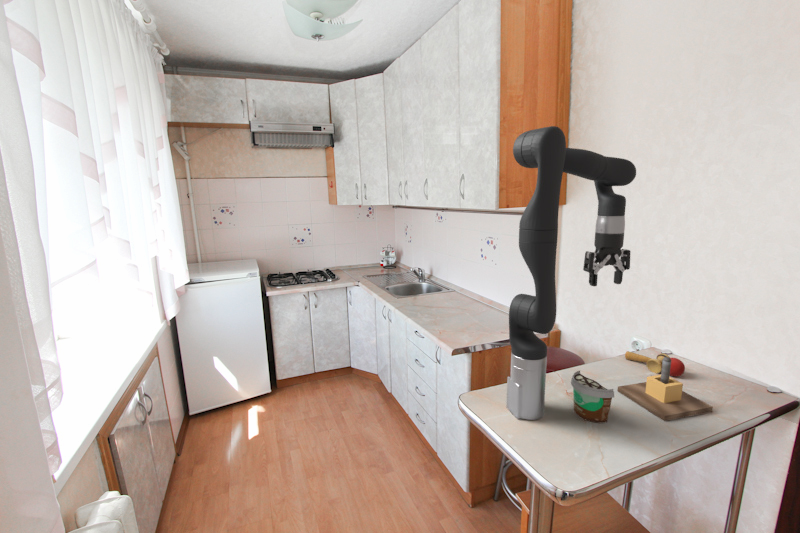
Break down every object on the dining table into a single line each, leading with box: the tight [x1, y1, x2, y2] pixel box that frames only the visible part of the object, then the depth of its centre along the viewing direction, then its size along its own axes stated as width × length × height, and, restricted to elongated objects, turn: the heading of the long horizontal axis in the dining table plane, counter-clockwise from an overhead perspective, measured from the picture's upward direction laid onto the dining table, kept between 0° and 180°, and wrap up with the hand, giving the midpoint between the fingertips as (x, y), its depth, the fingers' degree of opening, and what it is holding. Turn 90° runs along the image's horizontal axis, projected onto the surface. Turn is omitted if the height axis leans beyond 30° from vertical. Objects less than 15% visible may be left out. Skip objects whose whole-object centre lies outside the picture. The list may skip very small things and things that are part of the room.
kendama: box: [624, 350, 686, 378], centre depth 130 cm, size 8×6×18 cm
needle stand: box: [617, 356, 714, 422], centre depth 109 cm, size 16×16×14 cm
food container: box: [570, 370, 615, 424], centre depth 104 cm, size 12×6×10 cm, turn 19°
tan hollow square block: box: [645, 374, 684, 403], centre depth 110 cm, size 6×6×5 cm
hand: (605, 284), depth 115 cm, fingers open, 8 cm apart
